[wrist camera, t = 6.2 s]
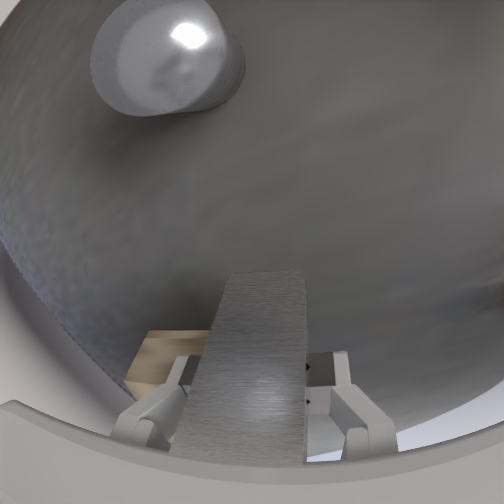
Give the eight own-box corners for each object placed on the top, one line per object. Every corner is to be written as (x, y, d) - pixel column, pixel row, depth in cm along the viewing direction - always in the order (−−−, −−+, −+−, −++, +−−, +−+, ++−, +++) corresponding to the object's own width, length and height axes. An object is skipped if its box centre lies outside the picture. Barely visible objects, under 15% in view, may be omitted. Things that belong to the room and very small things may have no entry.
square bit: (303, 268, 13) (299, 500, 5) (307, 325, 15) (302, 521, 6) (230, 273, 14) (158, 484, 5) (242, 328, 16) (199, 512, 7)
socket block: (262, 328, 23) (255, 388, 18) (275, 399, 27) (271, 449, 22) (149, 330, 25) (123, 381, 19) (182, 397, 29) (168, 442, 24)
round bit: (237, 18, 13) (209, -29, 7) (252, 101, 16) (232, 97, 9) (150, 40, 14) (85, 19, 8) (163, 119, 16) (101, 132, 10)
